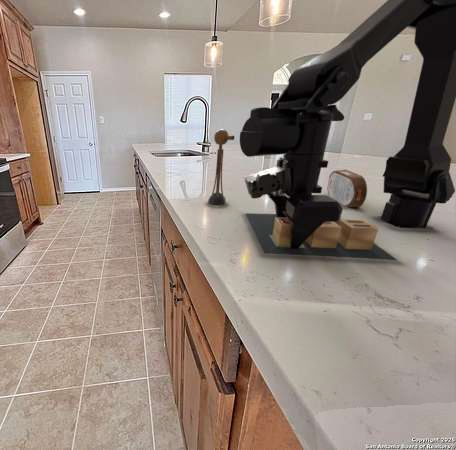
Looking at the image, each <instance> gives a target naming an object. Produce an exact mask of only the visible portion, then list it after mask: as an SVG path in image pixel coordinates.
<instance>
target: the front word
mask: <svg viewBox="0 0 456 450" xmlns="http://www.w3.org/2000/svg"><path fill="white" fill-rule="evenodd" d="M378 232H379V228H378V227H376V226H375V225H373V224H371V223H370V222H368V221H367V220H365V219H348V218H347V219H344V218H343V219H342V218H340V220H339V223H338V224H336V223H335V222H324V223H323V224H322V225H321V226H320V227H319V228H317V229H316V230H315V231H314V232H313V233H312V234H311V235H310V236H309V237H308V238H307V239H306V240H305V241H306V242H307V243H308V244H309V245H310V247H318V248H336V246H337V242H338V243H340V244H341V245H342V246H343V247H344V248H345V249H362V250H371V249H372V246H373V243H374V244H375V241H376V237H377V235H378Z"/></svg>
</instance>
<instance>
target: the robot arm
mask: <svg viewBox="0 0 456 450" xmlns="http://www.w3.org/2000/svg"><path fill="white" fill-rule="evenodd" d="M406 28H408V29H412V30H414V40H413V41H414V42H413V43H414V45H415V47H416V48H417V50H418V52H419V53H420V55H421V57H422V64H421V68H420V72H419V77H418V81H417V86H416V91H415V94H414V99H413V103H412V108H411V113H410V117H409V120H408V121H409V122H408V126H407V129H406V130H407V131H406V135H405V139H404V143H403V147H401V148H400V149H399V151H398V152H396V153H395V155H393V156H389V157H388V158H387V159H386V162H385V169H384V172H383V174H382V177H383V191H382V192H383V193H384V194H390V197H389V199H388V200H387V201H386V202H385V205H384V208H383V210H382V213H381V215H378V216H377V218H379V219H380V220H382V221H383V222H385V223H387V224H390V225H391V226H393V227H395V228H399V229H425V230H426V229H430V230H433V229H434V227H432V226H430V225H428V224H429V222H430V219H431V217H432V214H433V213H434V210H435V208H436V205H437V204H447V202H449V201H450V199H451V198H453V195H454V194H455V192H456V189H455V186H454V183H453V180H452V176H451V172H450V170H451V165H452V157H451V156H450V154H449V152H448V150H447V149H446V147H445V146H444V141H445V138H446V134H447V131H448V127H449V123H450V120H451V116H452V112H453V109H454V106H455V102H456V0H386V1H385V2H384V3H383V4H382V5H381V6H380V7H379V8H377V9H376V10H374V12H373V13H372V14H371V15H370V16H369V17H367V18H366V19H365V20H364V21H363V22H361V24H359V25H358V26H357V27H356V28H355V29H354V30H353V31H352V32H350V33H349V35H347V36H346V37H344V39H343V40H342V41H340V42H339V43H338V44H337V45H335V46H333V47H332V48H331V49H329V50H327V51H325V52H323V53H320V54H319V55H317V56H315V57H313V58H311V59H310V60H309V61H307V62H305V63H304V64H303V65H300V66H299V67H298V68H296V69H295V70H294V71H293V72H292V73H291V75H289V77H288V80H287V82H288V84H287V86H286V87H285V88H284V90H283V91H282V93H281V94H280V95H279V97H278V98H277V99H276V101H275V102H274V104H273V105H272V107H271V108H270V107H269V106H268V107H267V106H266V107H265V106H264V107H261V106H260V107H252V108H251V109H250V114H249V118H247V119H246V121H245V122H244V124H243V126H242V130H241V131H240V133H239V146H240V149H241V152H242V154H243V155H244V156H246V157H249V158H251V157H262V156H263V157H264V156H279V155H283V156H279V158H278V159H277V160H276V165H275V166H273V167H269V168H266V169H263V170H260V171H257V172H253V173H251V174H248V175H246V176H244V181H245V186H246V189H247V193H248V194H249V196H250V198H251V199H259V198H262V197H263V196H265V195H267V197H269V199H270V200H271V201H272V202H273V203H274V210H275V214H276V217H288V219H289V220H290V221H291V225H290V248H291V249H298V248H299V247H300V246H301V245H302V244H303V243H304V241H305V240H306V239H307V238H308V237H309V236H310V235H311V234H312V233H313V232H314V231H315V230H316V229H317V228H319V227H320V226H321V225H322V224H323V223H324V222H338V221H339V220H340V219H341V217H342V214H343V210H344V207H343V206H342V204H341V203H340V202H338V201H336V200H335V199H333V198H332V197H330V196H329V195H327V194H322V190H323V187H322V186H321V185H319V179H320V175H321V171H322V168H323V169H327V168H328V165H329V160H326V159H324V158H325V153H326V148H327V144H328V139H329V136H330V131H331V127H332V122H342V121H344V120H345V115H344V113H343V112H342V111H340V110H339V109H338V107H337V104H336V103H338V102H340V101H341V100H342V99H343V98H344V97H345V96H346V95H347V94H348V93H349V91H350V90H351V89H352V88H353V87H354V86H355V84H357V82H358V81H359V79H360V77H361V73H362V70H363V68H364V66H365V65H366V64H367V63H368V62H370V60H372V58H374V57H375V56H376V55H377V54H378V53H380V52H381V50H383V49H384V48H385V47H386V46H387V45H389V44H390V43H391V42H392V41H393V40H394V39H395V38H396V37H398V36H399V35H400V34H401V33H402V32H403V31H405V29H406ZM341 206H342V207H343V208H342V207H341ZM341 213H342V214H341Z"/></svg>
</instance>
